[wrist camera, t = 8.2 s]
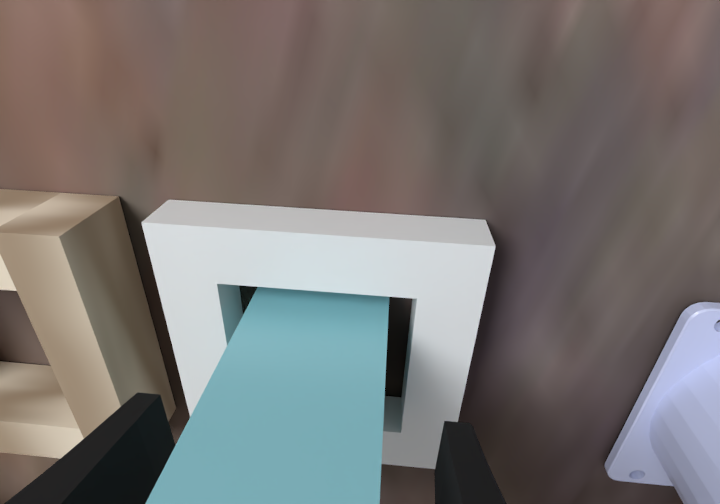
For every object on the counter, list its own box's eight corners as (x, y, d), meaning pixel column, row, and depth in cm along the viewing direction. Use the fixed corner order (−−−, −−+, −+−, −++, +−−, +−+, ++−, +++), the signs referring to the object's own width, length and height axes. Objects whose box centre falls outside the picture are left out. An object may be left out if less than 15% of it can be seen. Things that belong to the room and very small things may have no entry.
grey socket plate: (485, 219, 12) (495, 246, 10) (443, 433, 16) (447, 470, 15) (168, 199, 12) (141, 222, 11) (213, 411, 17) (197, 445, 16)
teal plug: (389, 286, 13) (375, 593, 6) (382, 380, 15) (365, 689, 8) (262, 277, 13) (114, 562, 7) (271, 370, 15) (165, 664, 9)
